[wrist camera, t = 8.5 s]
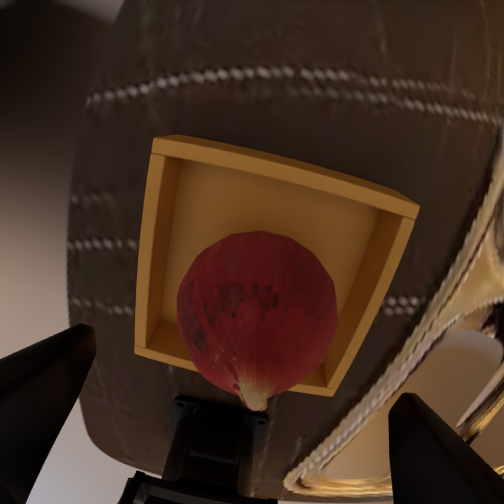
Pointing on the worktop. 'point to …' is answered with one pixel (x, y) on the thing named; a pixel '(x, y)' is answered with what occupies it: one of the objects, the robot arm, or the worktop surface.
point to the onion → (256, 314)
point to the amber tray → (271, 220)
